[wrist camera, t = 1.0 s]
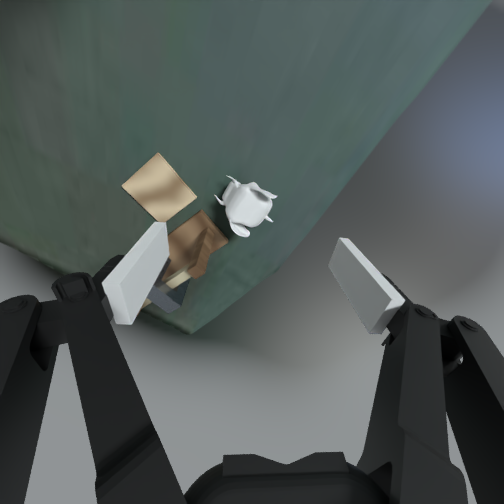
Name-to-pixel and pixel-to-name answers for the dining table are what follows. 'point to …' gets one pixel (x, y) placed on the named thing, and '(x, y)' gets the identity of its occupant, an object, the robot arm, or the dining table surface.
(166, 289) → the c link
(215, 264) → the dining table surface
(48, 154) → the dining table surface
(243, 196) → the elephant figurine
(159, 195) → the cork coaster
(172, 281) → the stand
